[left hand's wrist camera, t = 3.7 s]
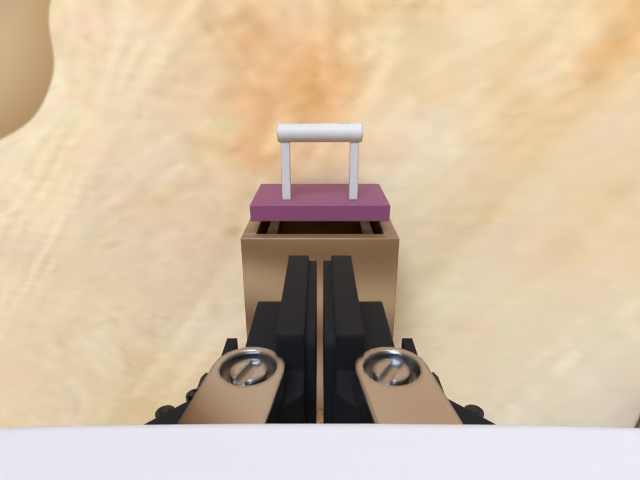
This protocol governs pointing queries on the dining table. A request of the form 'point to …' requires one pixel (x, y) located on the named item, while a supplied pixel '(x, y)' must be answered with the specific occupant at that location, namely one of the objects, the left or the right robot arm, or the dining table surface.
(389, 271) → the tan storage bin
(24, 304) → the dining table surface
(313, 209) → the drawer
